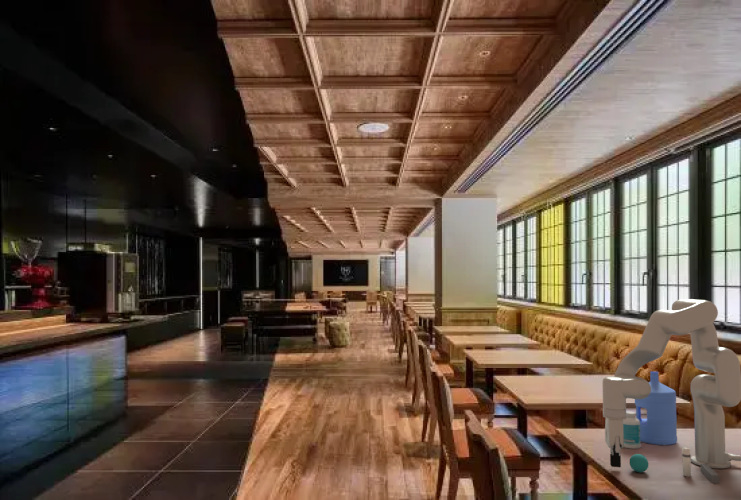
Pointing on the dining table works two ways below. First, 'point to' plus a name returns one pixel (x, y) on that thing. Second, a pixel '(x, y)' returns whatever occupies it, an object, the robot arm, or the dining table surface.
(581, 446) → the dining table surface
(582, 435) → the dining table surface
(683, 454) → the pin
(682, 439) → the dining table surface
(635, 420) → the pill bottle
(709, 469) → the grey block
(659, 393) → the water jug
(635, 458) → the ball
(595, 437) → the dining table surface
